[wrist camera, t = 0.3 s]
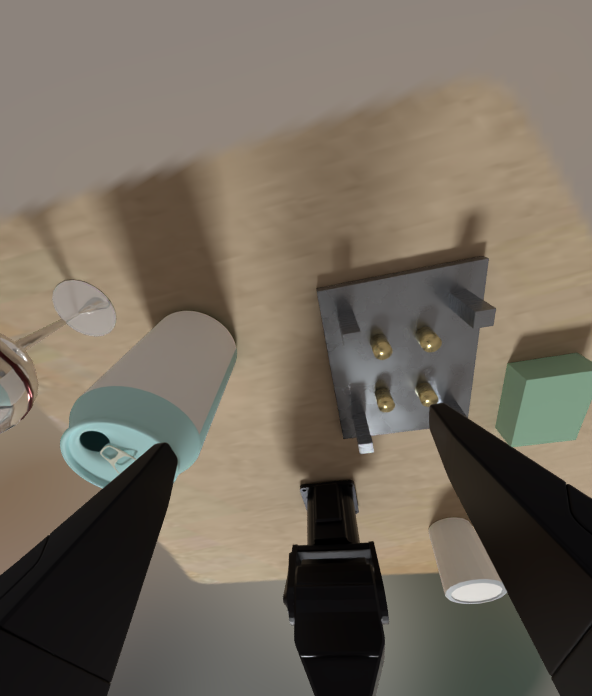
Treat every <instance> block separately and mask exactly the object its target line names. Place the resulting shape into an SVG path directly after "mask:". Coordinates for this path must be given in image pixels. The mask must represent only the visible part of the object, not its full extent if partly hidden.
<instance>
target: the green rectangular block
mask: <svg viewBox="0 0 592 696" xmlns="http://www.w3.org/2000/svg"><path fill="white" fill-rule="evenodd" d="M591 400H592V362H591V361H590V360H588V359H587V358H585V357H583V356H582V355H580V354H578V353H572V354H565V355H559V356H552V357H546V358H539V359H533V360H526V361H520V362H513V363H507V368H506V374H505V379H504V384H503V389H502V395H501V400H500V405H499V411H498V416H497V421H496V426H495V428H496V429H497V431H498V432H499V433H500V434H501V436H502V437H503V438H504V439H505V441H506V442H507V443H508V445H510V446H511V447H518V446H527V445H535V444H544V443H553V442H561V441H570V440H576V438H577V435H578V433H579V430H580V428H581V425H582V423H583V420H584V418H585V415H586V413H587V410H588V408H589V405H590V403H591Z"/></svg>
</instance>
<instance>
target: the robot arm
mask: <svg viewBox="0 0 592 696" xmlns="http://www.w3.org/2000/svg"><path fill="white" fill-rule="evenodd" d="M429 428H430V431H431V434H432V436H433V439H434V442H435V444H436V447H437V449H438V452H439V455H440V457H441V460H442V463H443V465H444V468H445V470H446V473H447V475H448V478H449V480H450V482H451V484H452V486H453V488H454V490H455V492H456V494H457V496H458V497H459V499H460V501H461V503H462V505H463V507H464V509H465V511H466V513H467V515H468V517H469V519H470V521H471V523H472V525H473V527H474V529H475V531H476V533H477V534H478V536H479V538H480V540H481V542H482V544H483V546H484V548H485V550H486V552H487V554H488V556H489V558H490V560H491V562H492V564H493V566H494V568H495V569H496V571H497V573H498V575H499V577H500V579H501V581H502V583H503V585H504V587H505V589H506V591H507V593H508V595H509V597H510V599H511V601H512V603H513V604H514V606H515V608H516V610H517V612H518V614H519V616H520V618H521V620H522V622H523V624H524V626H525V628H526V630H527V632H528V634H529V636H530V638H531V639H532V641H533V643H534V645H535V647H536V649H537V651H538V653H539V655H540V657H541V659H542V661H543V663H544V665H545V667H546V669H547V671H548V672H549V674H550V675H551V676H552V681H553V683H554V684H555V687H556V689H557V690H558V692H559V694H560V696H592V498H590V497H588V496H587V495H585V494H584V493H582V492H581V491H579V490H578V489H576V488H574V487H573V486H571V485H570V484H567V485H566V482H565V481H564V480H562V479H560V478H559V477H557V476H556V475H554V474H553V473H551V472H550V471H548V470H547V469H545V468H543V467H542V466H540V465H539V464H537V463H536V462H534V461H533V460H531V459H530V458H528V457H527V456H525V455H523V454H522V453H520V452H519V451H517V450H516V449H514V448H513V447H511V446H510V445H508V444H507V443H505V442H503V441H502V440H500V439H499V438H497V437H496V436H494V435H493V434H491V433H490V432H488V431H486V430H485V429H483V428H482V427H480V426H479V425H477V424H476V423H474V422H473V421H471V420H470V419H468V418H466V417H465V416H463V415H462V414H460V413H459V412H457V411H456V410H454V409H453V408H451V407H450V406H448V405H446V404H445V403H437V404H431V405H430V406H429ZM177 465H178V458H177V456H176V454H175V453H174V451H173V450H172V448H171V447H170V445H169V444H168V443H167V442H163V443H157V444H154V445H153V446H152V447H151V448H149V449H148V450H147V451H146V452H145V453H144V454H142V455H141V456H140V457H139V458H138V459H137V460H135V461H134V462H133V463H132V464H131V465H130V466H128V467H127V468H126V469H125V470H124V471H123V472H121V473H120V474H119V475H118V476H117V477H116V478H114V479H113V480H112V481H111V482H110V483H109V484H107V485H106V486H105V487H104V488H103V489H102V490H100V492H98V493H97V494H96V495H95V496H93V497H92V498H91V499H90V500H89V501H88V502H87V503H85V504H84V505H83V506H82V507H81V508H80V509H78V510H77V511H76V512H75V513H74V514H73V515H71V516H70V517H69V518H68V519H67V520H66V521H64V522H63V523H62V524H61V525H60V526H59V527H57V528H56V529H55V530H54V531H53V532H52V533H51V534H50V535H48V536H47V537H46V538H44V539H43V540H42V541H41V542H40V543H39V544H38V545H36V546H35V547H34V548H33V549H32V550H30V551H29V552H28V553H27V554H26V555H25V556H23V557H22V558H21V559H20V560H19V561H17V562H16V563H15V564H14V565H13V566H11V567H10V568H9V569H8V570H6V571H5V572H4V573H3V574H1V575H0V696H107V694H108V691H109V688H110V682H111V681H112V678H113V675H114V672H115V669H116V666H117V663H118V659H119V656H120V653H121V650H122V647H123V644H124V641H125V638H126V634H127V632H128V629H129V626H130V622H131V619H132V616H133V613H134V610H135V607H136V604H137V601H138V598H139V595H140V592H141V588H142V585H143V582H144V579H145V576H146V573H147V570H148V567H149V564H150V560H151V558H152V555H153V551H154V549H155V546H156V542H157V539H158V536H159V533H160V530H161V527H162V524H163V521H164V518H165V515H166V511H167V508H168V504H169V500H170V496H171V492H172V487H173V483H174V478H175V474H176V469H177ZM300 492H301V495H302V498H303V501H304V504H305V507H306V510H307V544H308V545H293V547H292V552H291V553H289V567H288V575H287V580H286V585H285V590H284V596H283V602H284V604H285V605H286V607H287V608H288V614H289V620H290V624H291V625H294V641H295V645H296V648H297V651H298V653H299V656H300V658H301V661H302V664H303V666H304V669H305V672H306V674H307V677H308V679H309V682H310V685H311V687H312V690H313V692H314V695H315V696H376V692H377V688H378V684H379V680H380V676H381V671H382V667H383V663H384V652H385V651H384V650H385V637H384V631H383V625H382V624H389V617H388V609H387V602H386V596H385V591H384V586H383V581H382V576H381V572H380V567H379V563H378V559H377V554H376V550H375V545H374V541H370V542H368V543H360V540H359V534H358V527H357V520H356V514H357V513H358V512H359V510H358V504H357V498H356V493H355V487H354V482H353V481H352V480H345V481H336V482H326V483H316V484H306V485H301V486H300Z"/></svg>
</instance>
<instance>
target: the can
mask: <svg viewBox="0 0 592 696" xmlns="http://www.w3.org/2000/svg"><path fill="white" fill-rule="evenodd" d="M236 358H237V349H236V345H235V342H234V339H233V337H232V336H231V334H230V333H229V331H228V330H227V329H226V328H225V327H224V326H223V325H222V324H221V323H220V322H219V321H217V320H216V319H214V318H212V317H210V316H208V315H206V314H203V313H200V312H195V311H179V312H175V313H172V314H170V315H168V316H166V317H165V318H163V319H162V320H161V321H160V322H159V323H158V324H157V325H156V326H155V327H154V328H153V329H152V330H151V331H150V332H148V333H147V334H146V335H145V336H144V337H143V338H142V339H141V340H140V341H139V342H138V343H137V344H136V345H135V346H134V347H133V348H131V349H130V350H129V351H128V352H127V353H126V354H125V355H124V356H123V357H122V358H121V359H120V360H119V361H118V362H117V363H116V364H114V365H113V366H112V367H111V368H110V369H109V370H108V371H107V372H106V373H105V374H104V375H103V376H102V377H101V378H100V379H99V380H97V381H96V382H95V383H94V384H93V385H92V386H91V387H90V388H89V389H88V390H87V391H86V392H85V393H84V394H83V395H82V396H80V397H79V398H78V399H77V401H76V402H75V403H74V405H73V407H72V409H71V412H70V417H69V428H68V429H67V430H66V431H65V432H64V433H63V435H62V437H61V440H60V448H61V453H62V455H63V458H64V459H65V461H66V462H67V464H68V465H69V466H70V468H71V469H72V470H73V471H74V472H76V473H77V474H78V475H79V476H81V477H82V478H83V479H85V480H87V481H88V482H90V483H92V484H94V485H96V486H98V487H100V488H104V487H105V486H106V485H107V484H109V483H110V482H111V481H112V480H113V479H114V478H116V477H117V476H118V475H119V474H120V473H121V472H123V471H124V470H125V469H126V468H127V467H128V466H130V465H131V464H132V463H133V462H134V461H135V460H137V459H138V458H139V457H140V456H141V455H142V454H144V453H145V452H146V451H147V450H148V449H149V448H151V447H152V446H153V445H154V444H157V443H163V442H167V443H168V444H169V445H170V447H171V448H172V450H173V451H174V453H175V454H176V456H177V458H178V465H177V469H176V474H175V478H174V482H175V480H176V478H177V476H178V475H179V474H180V473H182V472H183V471H185V470H187V469H188V468H189V467H190V466H191V465H192V464H193V463H194V462H195V461H196V459H197V458H198V456H199V454H200V451H201V449H202V446H203V444H204V441H205V439H206V436H207V433H208V431H209V428H210V426H211V423H212V421H213V418H214V416H215V413H216V411H217V408H218V406H219V403H220V400H221V398H222V395H223V393H224V390H225V388H226V385H227V383H228V380H229V378H230V375H231V373H232V370H233V367H234V365H235V362H236Z"/></svg>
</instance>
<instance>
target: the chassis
mask: <svg viewBox="0 0 592 696" xmlns="http://www.w3.org/2000/svg"><path fill="white" fill-rule="evenodd" d="M488 261H489V258H486V257H484V256H479V257H474V258H469V259H464V260H459V261H454V262H449V263H444V264H438V265H433V266H428V267H423V268H418V269H413V270H408V271H403V272H398V273H392V274H387V275H382V276H377V277H372V278H367V279H362V280H357V281H351V282H346V283H341V284H336V285H331V286H326V287H321V288H317V295H318V301H319V306H320V312H321V317H322V323H323V328H324V334H325V339H326V345H327V350H328V356H329V361H330V367H331V372H332V378H333V384H334V389H335V395H336V400H337V406H338V411H339V417H340V422H341V428H342V433H343V439H348V438H356V437H357V442H358V447H359V452H360V454H364V453H373V452H374V450H373V442H372V438H371V436H372V435H380V434H388V433H397V432H405V431H413V430H421V429H429V406H430V405H431V404H437V403H445V404H446V405H448V406H450V407H451V408H453V409H454V410H456V411H457V412H459V413H460V414H462V415H463V416H465V417H466V418H468V413H469V405H470V398H471V390H472V383H473V375H474V367H475V360H476V352H477V345H478V337H479V329H480V328H482V327H488V326H493V325H494V318H495V312H496V308H495V307H493V306H492V305H490V304H488V303H487V302H485V301H484V300H483V299H484V291H485V284H486V276H487V269H488Z"/></svg>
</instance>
